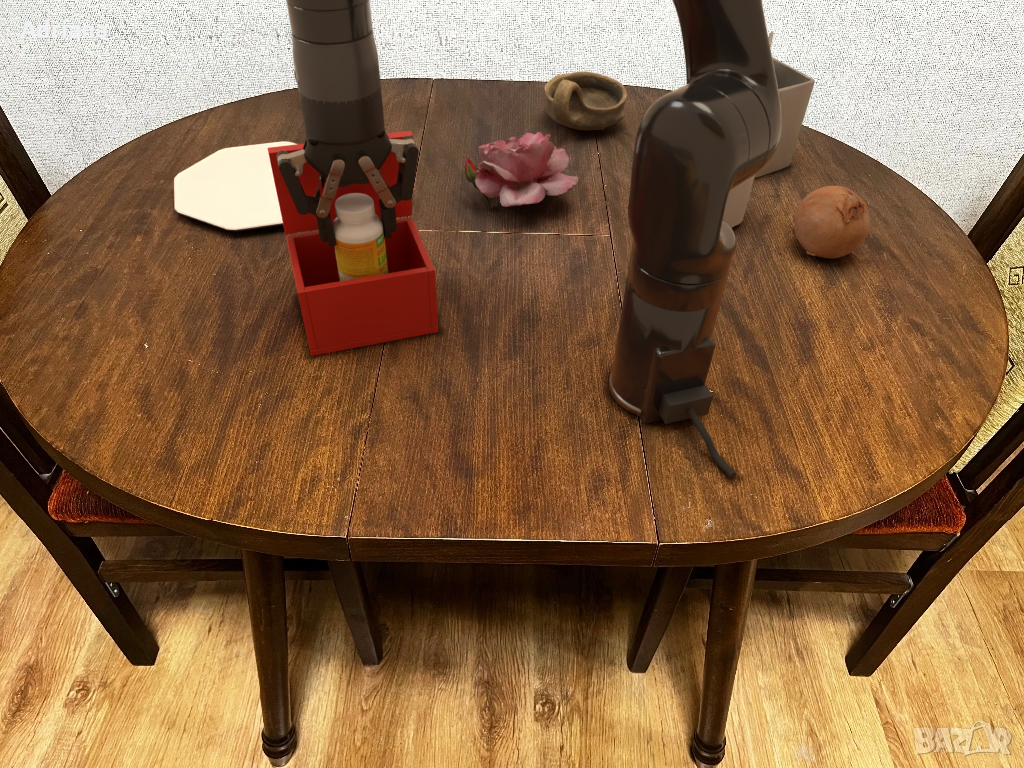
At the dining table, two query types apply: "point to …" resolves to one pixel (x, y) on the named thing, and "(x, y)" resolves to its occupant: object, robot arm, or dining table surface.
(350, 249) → the supplement bottle
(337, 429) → the dining table surface
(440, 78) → the dining table surface
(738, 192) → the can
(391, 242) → the red box
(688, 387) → the robot arm
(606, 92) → the bowl
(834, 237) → the onion
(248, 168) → the plate
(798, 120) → the planter
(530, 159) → the flower
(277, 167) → the red box lid
